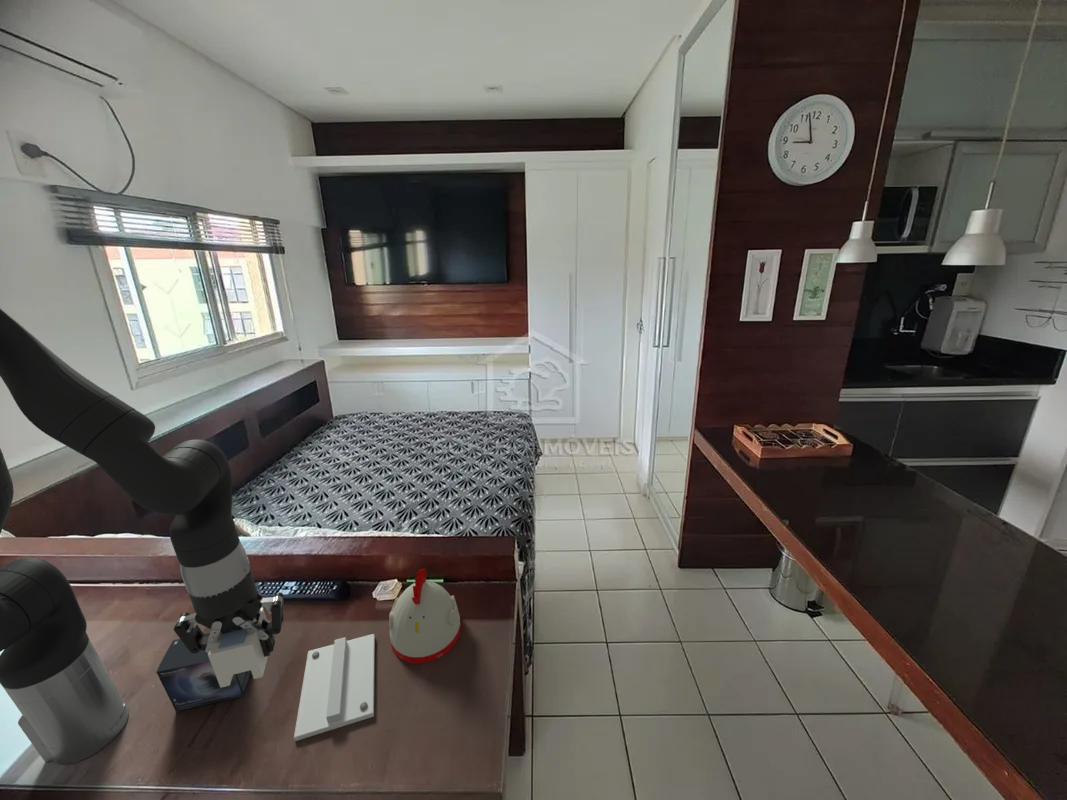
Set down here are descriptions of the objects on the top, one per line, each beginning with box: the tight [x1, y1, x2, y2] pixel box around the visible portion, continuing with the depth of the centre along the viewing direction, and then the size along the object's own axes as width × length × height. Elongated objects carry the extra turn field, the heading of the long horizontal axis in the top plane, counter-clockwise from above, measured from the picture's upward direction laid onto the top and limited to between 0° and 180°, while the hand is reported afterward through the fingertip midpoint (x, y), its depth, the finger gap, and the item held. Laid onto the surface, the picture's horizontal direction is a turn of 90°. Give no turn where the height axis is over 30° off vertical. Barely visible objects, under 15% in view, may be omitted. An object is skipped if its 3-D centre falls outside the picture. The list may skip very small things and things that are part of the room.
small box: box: [155, 632, 252, 713], centre depth 76 cm, size 11×6×10 cm, turn 105°
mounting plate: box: [293, 633, 376, 742], centre depth 79 cm, size 12×16×3 cm
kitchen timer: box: [388, 568, 462, 664], centre depth 86 cm, size 14×14×15 cm
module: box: [208, 607, 269, 688], centre depth 68 cm, size 6×7×7 cm
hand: (246, 656), depth 69 cm, fingers closed on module, 5 cm apart
